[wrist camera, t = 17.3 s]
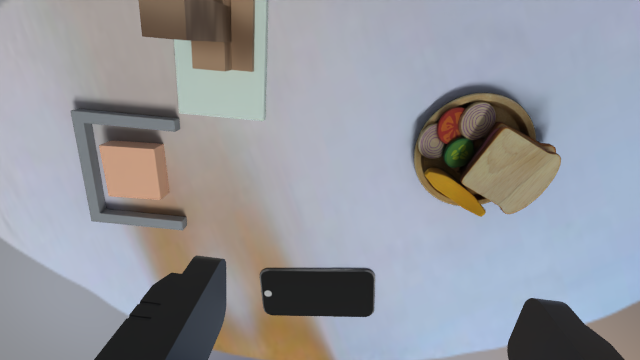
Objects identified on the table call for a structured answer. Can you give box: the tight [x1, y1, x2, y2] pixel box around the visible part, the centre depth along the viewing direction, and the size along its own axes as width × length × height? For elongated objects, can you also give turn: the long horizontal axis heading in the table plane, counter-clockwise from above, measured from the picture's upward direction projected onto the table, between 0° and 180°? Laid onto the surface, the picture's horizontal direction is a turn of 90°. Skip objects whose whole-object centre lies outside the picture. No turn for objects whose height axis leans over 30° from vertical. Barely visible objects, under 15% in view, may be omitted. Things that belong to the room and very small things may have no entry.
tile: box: [99, 140, 169, 200], centre depth 38 cm, size 6×6×2 cm
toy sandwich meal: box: [414, 93, 561, 216], centre depth 35 cm, size 12×14×5 cm
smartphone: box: [260, 268, 375, 317], centre depth 45 cm, size 8×1×15 cm
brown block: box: [139, 0, 255, 72], centre depth 27 cm, size 8×5×11 cm, turn 175°
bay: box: [71, 109, 187, 230], centre depth 39 cm, size 13×11×1 cm
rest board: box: [174, 0, 268, 121], centre depth 33 cm, size 13×9×1 cm
